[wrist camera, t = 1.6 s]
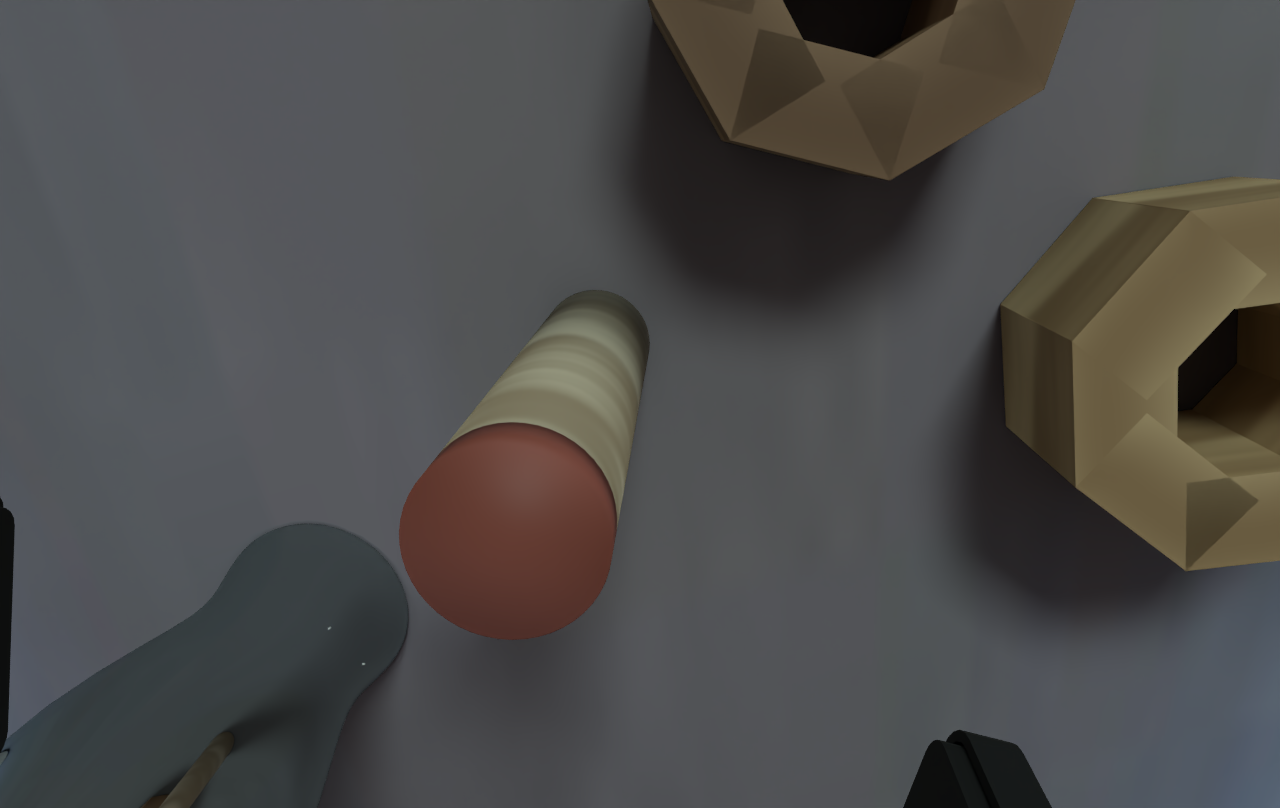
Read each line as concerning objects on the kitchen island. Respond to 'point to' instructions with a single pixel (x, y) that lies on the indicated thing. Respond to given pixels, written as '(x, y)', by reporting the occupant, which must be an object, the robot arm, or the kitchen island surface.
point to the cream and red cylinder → (533, 479)
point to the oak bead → (1158, 365)
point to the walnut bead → (861, 77)
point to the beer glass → (225, 689)
